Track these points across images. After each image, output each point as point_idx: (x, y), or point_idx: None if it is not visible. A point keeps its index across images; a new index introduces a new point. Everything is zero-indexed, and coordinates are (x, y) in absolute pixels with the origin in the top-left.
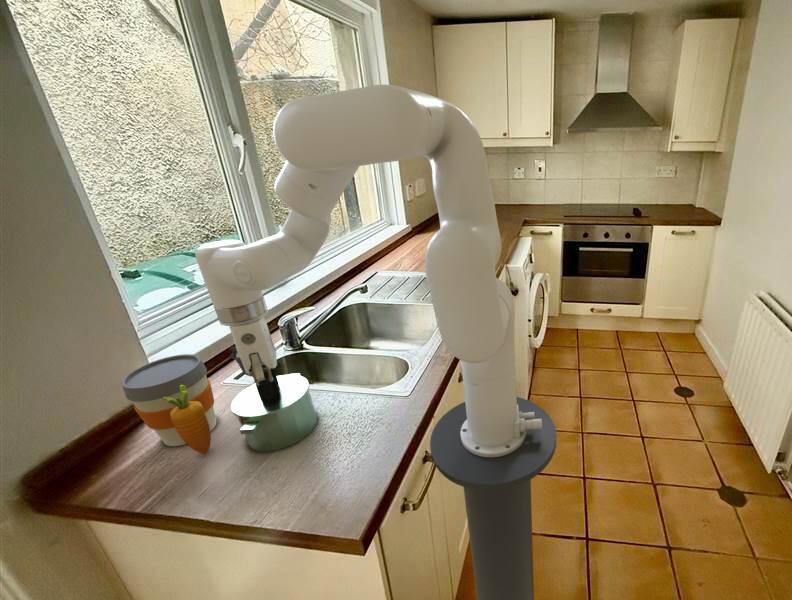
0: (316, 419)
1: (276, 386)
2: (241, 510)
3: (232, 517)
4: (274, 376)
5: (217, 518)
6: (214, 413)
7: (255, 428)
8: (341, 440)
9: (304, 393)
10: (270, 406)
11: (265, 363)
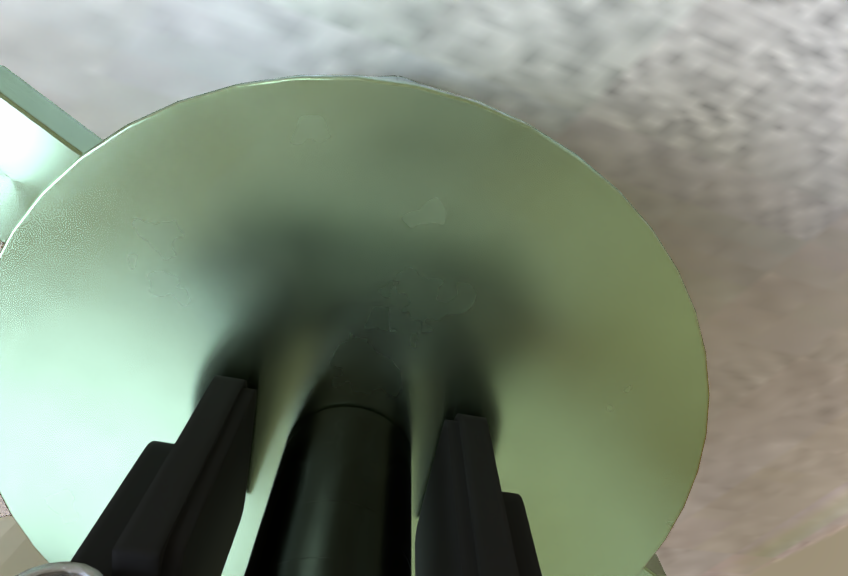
0: (439, 89)
1: (506, 514)
2: (787, 514)
3: (791, 539)
4: (215, 489)
5: (745, 571)
6: (11, 556)
7: (652, 563)
8: (788, 33)
9: (631, 205)
10: (576, 500)
11: None
